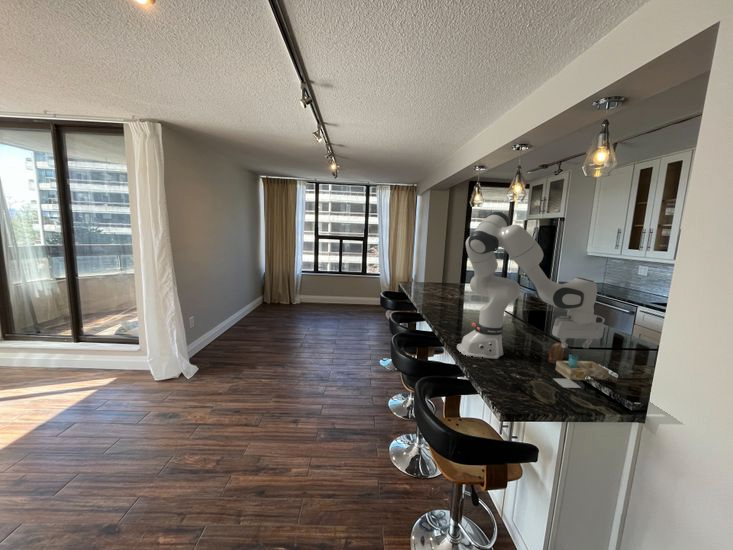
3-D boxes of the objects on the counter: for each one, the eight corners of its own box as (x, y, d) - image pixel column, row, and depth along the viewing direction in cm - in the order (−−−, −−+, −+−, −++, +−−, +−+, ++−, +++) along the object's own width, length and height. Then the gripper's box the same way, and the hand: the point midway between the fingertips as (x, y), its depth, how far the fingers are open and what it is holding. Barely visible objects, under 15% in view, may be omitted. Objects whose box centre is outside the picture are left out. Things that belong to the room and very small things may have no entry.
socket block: (569, 381, 124) (571, 370, 123) (555, 371, 133) (556, 360, 132) (607, 382, 124) (609, 370, 123) (590, 371, 133) (592, 360, 132)
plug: (570, 375, 126) (572, 357, 125) (564, 371, 130) (566, 353, 128) (578, 375, 126) (580, 357, 125) (572, 371, 130) (574, 353, 129)
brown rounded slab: (553, 366, 137) (555, 349, 136) (545, 364, 140) (547, 347, 138) (564, 358, 147) (566, 341, 146) (557, 356, 149) (559, 340, 148)
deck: (563, 389, 118) (563, 387, 118) (552, 380, 125) (552, 378, 125) (581, 389, 118) (581, 387, 118) (568, 380, 125) (569, 378, 125)
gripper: (561, 318, 121) (556, 350, 124) (608, 319, 123) (603, 350, 125) (551, 313, 128) (546, 344, 130) (596, 314, 129) (591, 345, 131)
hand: (574, 347), depth 127 cm, fingers open, 8 cm apart
